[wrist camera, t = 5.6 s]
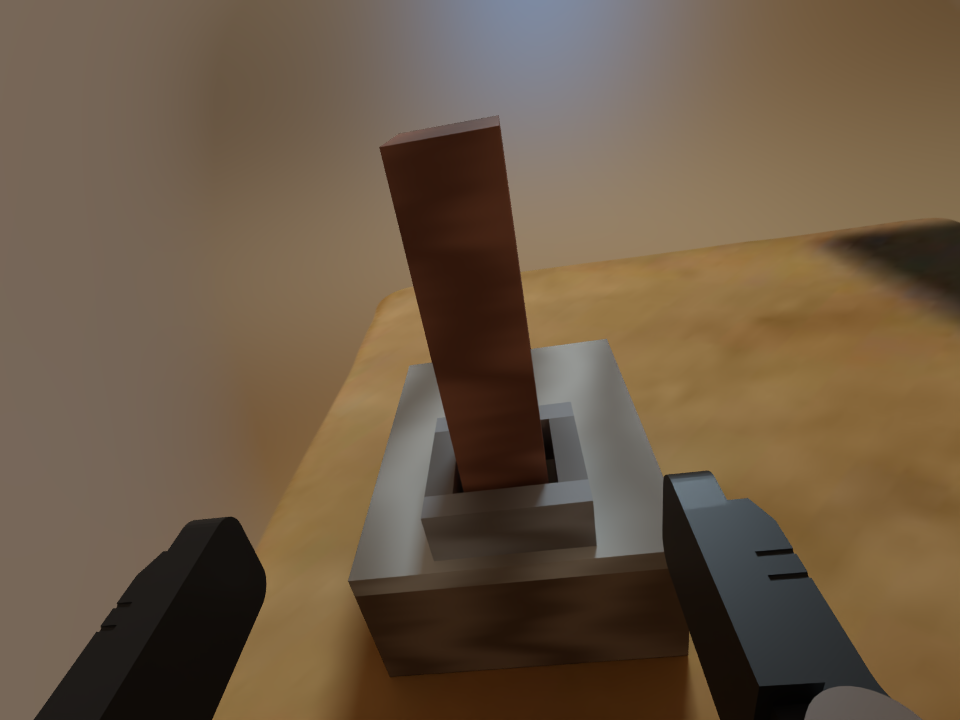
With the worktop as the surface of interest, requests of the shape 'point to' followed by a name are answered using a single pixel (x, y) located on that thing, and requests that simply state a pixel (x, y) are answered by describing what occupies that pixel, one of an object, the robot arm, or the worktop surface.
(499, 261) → the wooden key
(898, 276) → the worktop surface
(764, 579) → the robot arm
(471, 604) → the gray socket block
